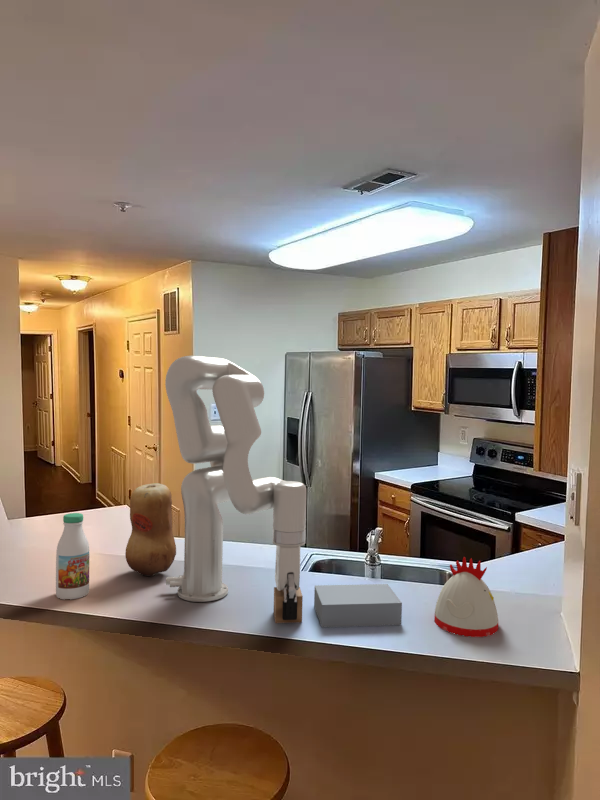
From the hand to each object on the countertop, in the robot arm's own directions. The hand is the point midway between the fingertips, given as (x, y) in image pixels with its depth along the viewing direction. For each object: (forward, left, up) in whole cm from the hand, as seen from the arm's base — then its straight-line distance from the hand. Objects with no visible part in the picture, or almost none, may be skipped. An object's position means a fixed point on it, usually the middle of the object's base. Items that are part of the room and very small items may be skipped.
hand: (287, 610), depth 130 cm
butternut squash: (-35, +31, -2) cm, 47 cm away
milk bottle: (-52, +17, -2) cm, 55 cm away
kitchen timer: (+40, -6, -2) cm, 40 cm away
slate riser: (+16, 0, -2) cm, 16 cm away
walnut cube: (0, 0, -2) cm, 2 cm away
